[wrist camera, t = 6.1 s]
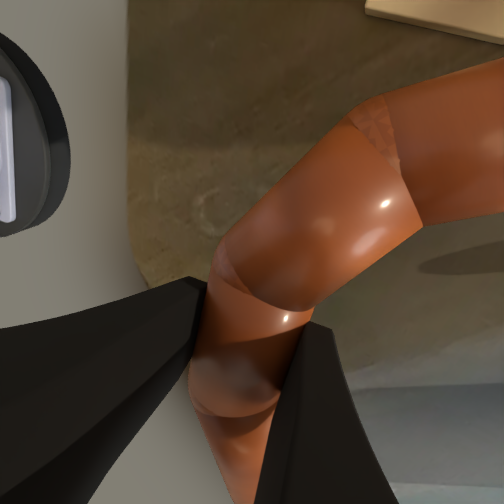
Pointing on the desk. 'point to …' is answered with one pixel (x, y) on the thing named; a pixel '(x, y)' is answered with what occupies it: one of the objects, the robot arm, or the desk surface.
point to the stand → (446, 16)
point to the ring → (335, 242)
